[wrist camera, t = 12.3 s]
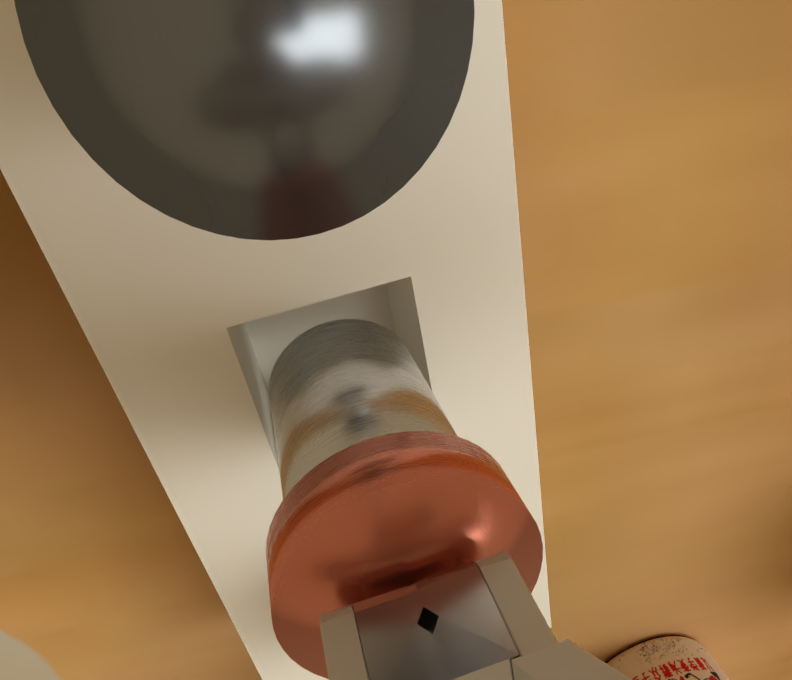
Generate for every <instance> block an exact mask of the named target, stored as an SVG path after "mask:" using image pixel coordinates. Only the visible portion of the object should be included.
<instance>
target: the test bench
mask: <svg viewBox="0 0 792 680" xmlns="http://www.w3.org/2000/svg"><path fill="white" fill-rule="evenodd" d="M474 12H475V14H474V30H473V44H472V50H471V56H470V61H469V67H468V73H467V76H466V79H465V83H464V86H463V90H462V93H461V97H460V100H459V102H458V105H457V107H456V109H455V112H454V114H453V116H452V119H451V121H450V124H449V126H448V127H447V129H446V131H445V133H444V134H443V136H442V138H441V140H440V142H439V143H438V145H437V147H436V148H435V150H434V151H433V152H432V154H431V155H430V157H429V158H428V159H427V161H426V162H425V163H424V165H423V166H422V168H421V169H420V170H419V171H418V172H417V173H416V174H415V175H414V176H413V177H412V178H411V179H410V181H409V182H408V183H407V184H406V185H405V186H404V187H403V188H402V189H400V190H399V191H398V192H397V193H396V194H394V195H393V196H392V197H391V198H390V199H388V200H387V201H386V202H385V203H383V204H382V205H380V206H379V207H377V208H376V209H374V210H372V211H371V212H369V213H368V214H366V215H365V216H363V217H361V218H359V219H356V220H354V221H352V222H350V223H348V224H346V225H344V226H342V227H339V228H336V229H333V230H330V231H327V232H324V233H320V234H316V235H311V236H306V237H301V238H296V239H284V240H252V239H241V238H235V237H230V236H224V235H218V234H215V233H212V232H208V231H205V230H202V229H199V228H195V227H192V226H190V225H188V224H185V223H183V222H181V221H178V220H176V219H174V218H172V217H169V216H167V215H165V214H163V213H162V212H160V211H158V210H157V209H155V208H153V207H151V206H150V205H148V204H146V203H145V202H143V201H141V200H140V199H138V198H137V197H136V196H134V195H133V194H132V193H130V192H129V191H128V190H126V189H125V188H124V187H122V186H121V185H120V184H118V183H117V182H116V181H115V180H114V179H113V178H112V177H110V176H109V175H108V174H107V173H106V172H105V171H104V170H103V169H102V168H101V167H100V166H99V165H98V164H97V163H96V162H95V161H94V160H93V159H92V158H91V157H90V156H89V155H88V153H87V152H86V151H85V150H84V149H83V148H82V146H81V145H80V144H79V143H78V142H77V141H76V139H75V138H74V137H73V136H72V135H71V133H70V132H69V130H68V129H67V127H66V126H65V124H64V123H63V121H62V120H61V118H60V117H59V115H58V114H57V112H56V111H55V109H54V108H53V106H52V104H51V102H50V100H49V98H48V96H47V94H46V93H45V91H44V89H43V87H42V85H41V83H40V81H39V79H38V77H37V75H36V72H35V70H34V67H33V64H32V62H31V59H30V56H29V54H28V51H27V49H26V46H25V43H24V40H23V36H22V32H21V28H20V24H19V20H18V16H17V12H16V8H15V1H14V0H0V170H1V172H2V174H3V176H4V177H5V179H6V181H7V183H8V185H9V187H10V189H11V191H12V193H13V195H14V197H15V199H16V201H17V203H18V205H19V207H20V209H21V211H22V213H23V214H24V216H25V218H26V220H27V222H28V224H29V226H30V228H31V230H32V232H33V234H34V236H35V238H36V240H37V242H38V244H39V246H40V248H41V250H42V252H43V253H44V255H45V257H46V259H47V261H48V263H49V265H50V267H51V269H52V271H53V273H54V275H55V277H56V279H57V281H58V283H59V285H60V287H61V289H62V290H63V292H64V294H65V296H66V298H67V300H68V302H69V304H70V306H71V308H72V310H73V312H74V314H75V316H76V318H77V320H78V322H79V324H80V326H81V327H82V329H83V331H84V333H85V335H86V337H87V339H88V341H89V343H90V345H91V347H92V349H93V351H94V353H95V355H96V357H97V359H98V361H99V363H100V365H101V366H102V368H103V370H104V372H105V374H106V376H107V378H108V380H109V382H110V384H111V386H112V388H113V390H114V392H115V394H116V396H117V398H118V400H119V402H120V403H121V405H122V407H123V409H124V411H125V413H126V415H127V417H128V419H129V421H130V423H131V425H132V427H133V429H134V431H135V433H136V435H137V437H138V439H139V440H140V442H141V444H142V446H143V448H144V450H145V452H146V454H147V456H148V458H149V460H150V462H151V464H152V466H153V468H154V470H155V472H156V474H157V476H158V477H159V479H160V481H161V483H162V485H163V487H164V489H165V491H166V493H167V495H168V497H169V499H170V501H171V503H172V505H173V507H174V509H175V511H176V513H177V515H178V516H179V518H180V520H181V522H182V524H183V526H184V528H185V530H186V532H187V534H188V536H189V538H190V540H191V542H192V544H193V546H194V548H195V550H196V552H197V553H198V555H199V557H200V559H201V561H202V563H203V565H204V567H205V569H206V571H207V573H208V575H209V577H210V579H211V581H212V583H213V585H214V587H215V589H216V590H217V592H218V594H219V596H220V598H221V600H222V602H223V604H224V606H225V608H226V610H227V612H228V614H229V616H230V618H231V620H232V622H233V624H234V626H235V628H236V629H237V631H238V633H239V635H240V637H241V639H242V641H243V643H244V645H245V647H246V649H247V651H248V653H249V655H250V657H251V659H252V661H253V663H254V665H255V666H256V668H257V670H258V672H259V674H260V676H261V678H262V680H329V679H327V678H324V677H321V676H319V675H316V674H313V673H311V672H310V671H308V670H306V669H304V668H302V667H301V666H300V665H298V664H297V663H296V662H294V661H293V660H292V659H291V658H290V657H289V656H288V655H287V654H286V653H285V651H284V650H283V649H282V647H281V645H280V644H279V642H278V640H277V638H276V635H275V632H274V629H273V625H272V617H271V607H270V596H269V584H268V573H267V562H266V540H267V536H268V532H269V527H270V525H271V522H272V520H273V517H274V515H275V513H276V511H277V509H278V508H279V506H280V504H281V502H282V501H283V495H282V487H281V480H280V473H279V465H278V458H277V450H276V443H275V436H274V428H273V421H272V413H271V406H270V399H269V381H270V376H271V372H272V370H273V367H274V364H275V363H276V361H277V359H278V357H279V356H280V354H281V353H282V352H283V350H284V349H285V348H286V347H287V346H288V345H289V344H290V343H291V342H292V341H293V340H294V339H295V338H296V337H298V336H299V335H300V334H302V333H304V332H305V331H307V330H309V329H311V328H313V327H315V326H317V325H320V324H323V323H326V322H330V321H334V320H341V319H359V320H366V321H370V322H373V323H376V324H379V325H381V326H383V327H385V328H387V329H389V330H390V331H392V332H393V333H394V334H395V335H397V336H398V337H399V338H400V339H401V340H402V342H403V343H404V344H405V346H406V347H407V349H408V350H409V352H410V354H411V356H412V357H413V359H414V361H415V363H416V364H417V366H418V368H419V370H420V371H421V373H422V375H423V377H424V378H425V380H426V382H427V384H428V385H429V387H430V389H431V391H432V392H433V394H434V396H435V398H436V399H437V401H438V403H439V405H440V406H441V408H442V410H443V412H444V413H445V415H446V417H447V419H448V420H449V422H450V424H451V426H452V427H453V429H454V431H455V433H456V434H457V436H458V437H460V438H463V439H466V440H469V441H470V442H472V443H474V444H476V445H478V446H480V447H481V448H483V449H484V450H485V451H487V452H488V453H489V454H491V456H492V457H493V458H494V459H495V460H496V461H497V462H498V463H499V464H500V466H501V467H502V469H503V471H504V472H505V474H506V475H507V477H508V479H509V480H510V482H511V483H512V485H513V486H514V488H515V490H516V491H517V493H518V494H519V496H520V498H521V499H522V501H523V502H524V504H525V506H526V507H527V509H528V510H529V512H530V513H531V515H532V517H533V518H534V520H535V521H536V523H537V526H538V528H539V531H540V533H541V538H542V544H543V560H542V566H541V571H540V574H539V577H538V580H537V583H536V585H535V587H534V589H533V591H532V593H531V595H532V596H533V598H534V600H535V602H536V604H537V605H538V607H539V609H540V611H541V613H542V615H543V616H544V618H545V620H546V622H547V624H548V626H549V627H550V628H551V617H550V605H549V592H548V579H547V567H546V554H545V541H544V529H543V516H542V503H541V491H540V478H539V466H538V453H537V440H536V428H535V415H534V402H533V390H532V377H531V364H530V352H529V339H528V327H527V314H526V301H525V289H524V276H523V263H522V251H521V238H520V225H519V213H518V200H517V187H516V175H515V162H514V150H513V137H512V124H511V112H510V99H509V86H508V74H507V61H506V48H505V36H504V23H503V10H502V0H474Z"/></svg>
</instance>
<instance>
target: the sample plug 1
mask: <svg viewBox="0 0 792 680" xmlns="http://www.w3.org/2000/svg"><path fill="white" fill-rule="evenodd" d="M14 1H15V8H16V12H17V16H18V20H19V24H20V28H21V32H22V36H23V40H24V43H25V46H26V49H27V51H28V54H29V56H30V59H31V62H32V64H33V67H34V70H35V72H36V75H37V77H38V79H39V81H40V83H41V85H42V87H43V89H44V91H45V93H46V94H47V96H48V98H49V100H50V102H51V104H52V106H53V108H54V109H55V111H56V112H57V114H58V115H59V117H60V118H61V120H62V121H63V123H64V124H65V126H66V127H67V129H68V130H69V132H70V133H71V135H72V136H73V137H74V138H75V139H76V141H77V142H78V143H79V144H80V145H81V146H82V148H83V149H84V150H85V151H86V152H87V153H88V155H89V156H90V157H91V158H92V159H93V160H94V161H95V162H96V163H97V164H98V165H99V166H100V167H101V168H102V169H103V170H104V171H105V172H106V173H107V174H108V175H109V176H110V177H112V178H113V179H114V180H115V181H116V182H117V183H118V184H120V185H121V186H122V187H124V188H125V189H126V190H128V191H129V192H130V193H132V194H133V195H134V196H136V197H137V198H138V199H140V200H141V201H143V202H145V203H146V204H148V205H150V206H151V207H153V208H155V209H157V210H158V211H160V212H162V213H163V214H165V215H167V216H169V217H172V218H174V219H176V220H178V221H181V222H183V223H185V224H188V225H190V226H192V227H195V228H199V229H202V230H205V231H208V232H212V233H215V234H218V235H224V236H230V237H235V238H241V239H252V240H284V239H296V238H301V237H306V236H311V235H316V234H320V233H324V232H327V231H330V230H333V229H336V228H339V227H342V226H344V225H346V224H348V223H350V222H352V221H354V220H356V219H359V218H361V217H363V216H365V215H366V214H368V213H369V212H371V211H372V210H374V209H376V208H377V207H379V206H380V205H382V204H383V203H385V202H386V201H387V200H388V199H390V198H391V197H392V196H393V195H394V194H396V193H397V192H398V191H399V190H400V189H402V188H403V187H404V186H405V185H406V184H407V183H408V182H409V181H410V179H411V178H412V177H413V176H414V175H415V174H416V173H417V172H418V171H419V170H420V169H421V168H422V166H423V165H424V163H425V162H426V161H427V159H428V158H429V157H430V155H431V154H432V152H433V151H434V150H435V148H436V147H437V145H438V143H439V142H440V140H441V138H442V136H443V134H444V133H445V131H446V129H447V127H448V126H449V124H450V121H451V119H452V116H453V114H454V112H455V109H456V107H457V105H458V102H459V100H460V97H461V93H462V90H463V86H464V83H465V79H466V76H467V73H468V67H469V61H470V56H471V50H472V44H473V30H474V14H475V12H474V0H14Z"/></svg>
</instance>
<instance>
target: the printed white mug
mask: <svg viewBox="0 0 792 680" xmlns="http://www.w3.org/2000/svg"><path fill="white" fill-rule="evenodd" d="M606 664H608V665H610V666H611V667H613V668H614V669H616V670H618V671H619V672H621V673H623V674H624V675H626V676H627V677H629V678H631V679H632V680H729V678H728V677H727V676H726V674H725V673H724V672H723V671H722V669H721V668H720V667H719V665H718V664H717V663H716V661H715V660H714V659H713V658H712V656H711V655H710V654H709V652H708V651H707V650H706V649H705V647H704V646H703V645H701V644H700V643H699V642H697V641H695V640H693V639H690V638H687V637H681V636H668V637H661V638H656V639H652V640H649V641H646V642H643V643H640V644H638V645H636V646H634V647H632V648H629V649H628V650H626V651H624V652H622V653H621V654H619V655H617V656H616V657H614V658H613V659H611V660H610V661H609V662H608V663H606Z"/></svg>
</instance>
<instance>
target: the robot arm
mask: <svg viewBox="0 0 792 680" xmlns="http://www.w3.org/2000/svg"><path fill="white" fill-rule="evenodd" d="M320 630H321V636H322V642H323V648H324V654H325V660H326V666H327V672H328V679H329V680H632V679H631V678H629V677H627V676H626V675H624V674H623V673H621V672H619V671H618V670H616V669H614V668H613V667H611V666H610V665H608V664H606V663H605V662H603V661H602V660H600V659H598V658H597V657H595V656H593V655H592V654H590V653H589V652H587V651H585V650H584V649H582V648H581V647H579V646H577V645H576V644H574V643H572V642H571V641H569V640H568V639H566V640H563V641H560V642H557V640H556V638H555V636H554V635H553V633H552V631H551V629H550V627H549V626H548V624H547V622H546V620H545V618H544V616H543V615H542V613H541V611H540V609H539V607H538V605H537V604H536V602H535V600H534V598H533V596H532V595H531V593H530V591H529V589H528V587H527V585H526V584H525V582H524V580H523V578H522V576H521V574H520V573H519V571H518V569H517V567H516V565H515V564H514V562H513V560H512V558H511V556H510V555H509V554H508V553H506V552H505V551H502V552H500V553H497V554H494V555H491V556H489V557H486V558H483V559H480V560H477V561H475V562H473V561H472V562H469V563H466V564H464V565H461V566H458V567H455V568H453V569H450V570H447V571H444V572H442V573H439V574H436V575H434V576H431V577H428V578H425V579H423V580H420V581H417V582H414V584H413V585H410V586H407V587H404V588H400V589H397V590H394V591H391V592H388V593H385V594H382V595H379V596H375V597H372V598H369V599H366V600H363V601H360V602H357V603H353V604H350V605H347V606H344V607H341V608H339V609H336V610H333V611H330V612H327V613H324V614H321V615H320Z"/></svg>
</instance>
